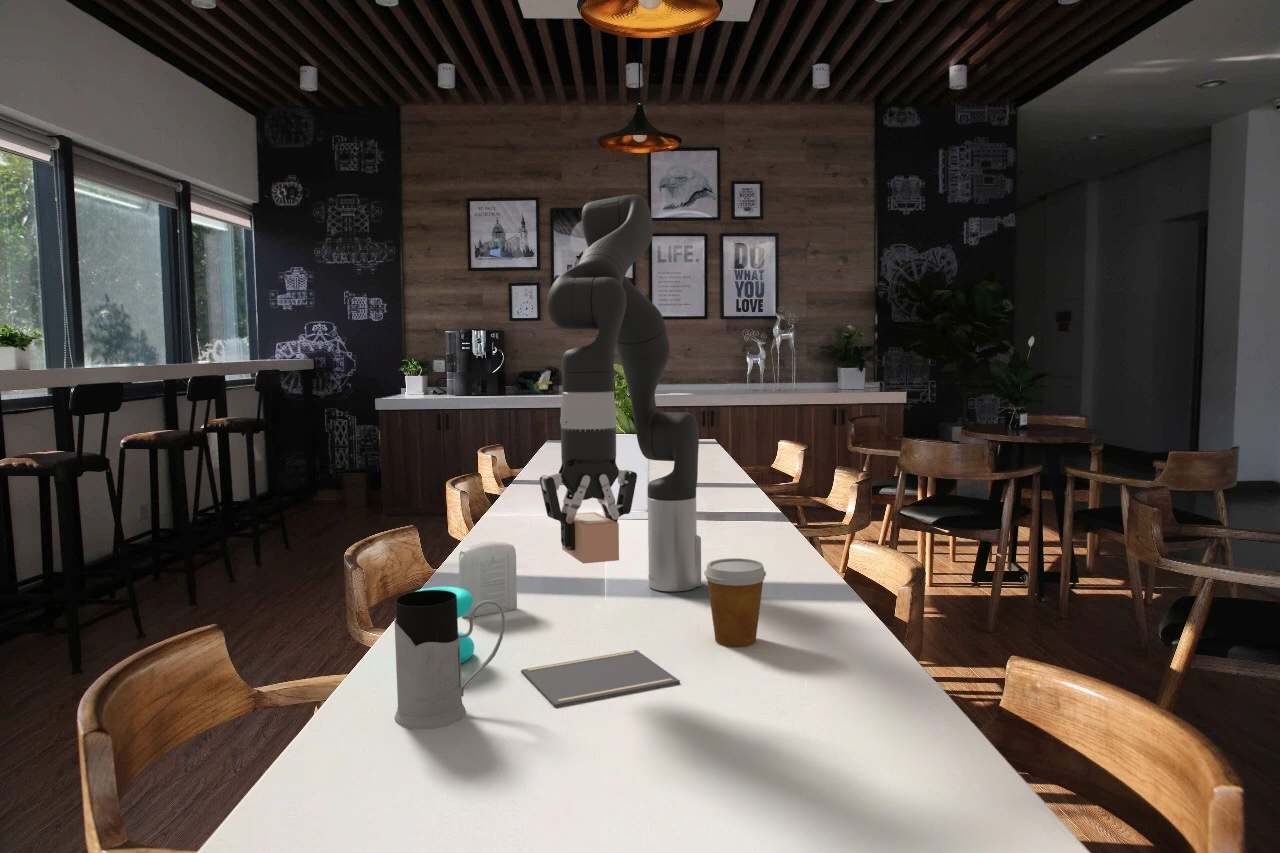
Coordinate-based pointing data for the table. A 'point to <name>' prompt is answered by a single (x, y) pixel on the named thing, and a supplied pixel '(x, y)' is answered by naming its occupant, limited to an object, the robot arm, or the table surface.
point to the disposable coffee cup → (735, 599)
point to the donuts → (462, 608)
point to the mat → (597, 678)
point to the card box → (595, 538)
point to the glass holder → (431, 658)
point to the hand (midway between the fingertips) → (589, 547)
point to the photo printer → (489, 576)
